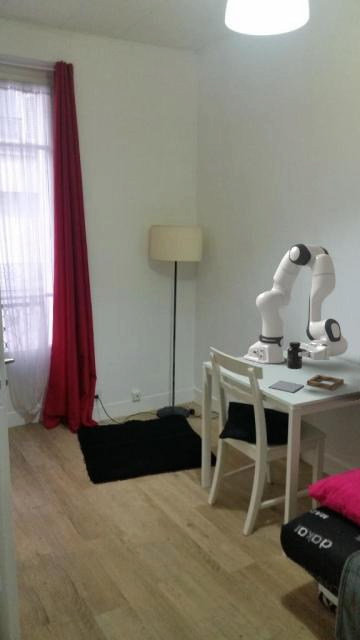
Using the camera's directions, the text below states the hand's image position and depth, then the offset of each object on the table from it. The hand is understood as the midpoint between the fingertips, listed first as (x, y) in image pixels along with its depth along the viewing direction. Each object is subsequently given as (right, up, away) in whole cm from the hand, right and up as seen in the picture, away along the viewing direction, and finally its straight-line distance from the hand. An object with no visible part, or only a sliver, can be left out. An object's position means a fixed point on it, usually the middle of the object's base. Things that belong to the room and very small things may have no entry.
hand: (292, 352), depth 246 cm
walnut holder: (+17, -16, +7) cm, 24 cm away
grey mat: (-2, -17, +3) cm, 17 cm away
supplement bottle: (+1, -8, +1) cm, 8 cm away
